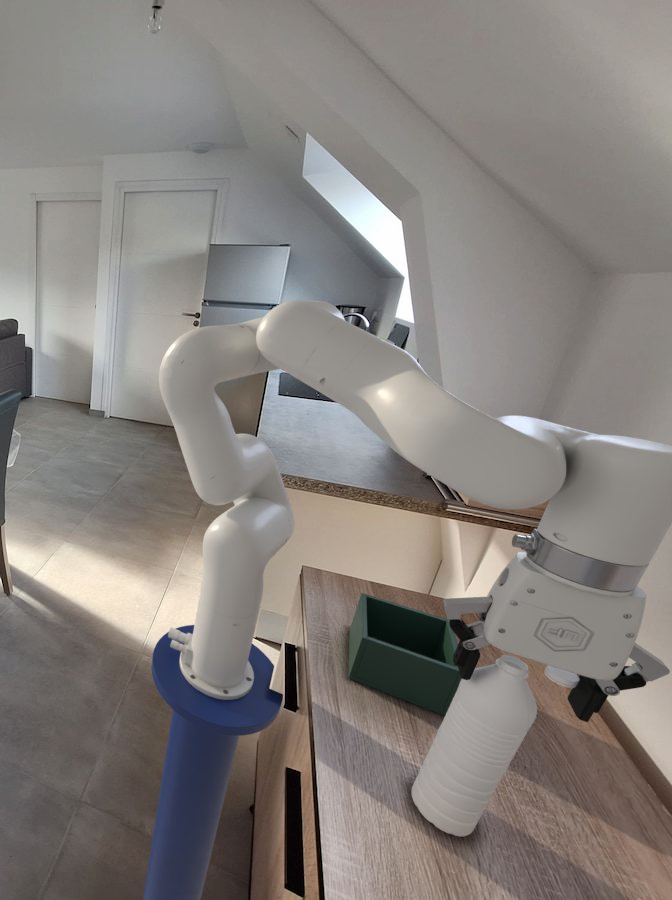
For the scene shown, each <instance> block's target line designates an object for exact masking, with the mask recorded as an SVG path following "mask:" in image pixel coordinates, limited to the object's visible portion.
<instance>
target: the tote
mask: <svg viewBox="0 0 672 900" xmlns="http://www.w3.org/2000/svg"><path fill="white" fill-rule="evenodd" d="M348 637H349V638H348V639H349V641H348V676H347V677H348V679H349V680H351V681H354V682H356V683H359V684H362V685H365V686H368V687H370V688H372V689H375V690H378V691H379V692H383V693H385V694H388V695H390V696H393V697H394V698H398V699H400V700H403V701H405V702H408V703H411V704H414V705H415V706H419V707H420V708H423V709H426V710H429V711H431V712H434V713H436V714H439V715H442V716H444V717H445V716H446V713H447V711H448V708H449V707H450V704H451V702H452V700H453V698H454V696H455V693H456V692H457V689H458V686H459V684H460V681H461V679H462V678H461V676H460V673H459V669H458V666H456V665H454V662H453V656H454V653H455V651H456V648H457V646H458V644H459V642H458V640H457V635H456V634H455V633H454V632H453V630H452V629H451V628H450V625H449V622H448V619H447V618H444V617H441V616H438V615H434V614H432V613H429V612H426V611H422V610H419V609H415V608H412V607H409V606H406V605H403V604H399V603H397V602H393V601H390V600H387V599H384V598H380V597H377V596H375V595H370V594H367V593H364V592H361V593H360V597H359V600H358V602H357V606H356V609H355V611H354V615H353V618H352V620H351V624H350V627H349V635H348Z"/></svg>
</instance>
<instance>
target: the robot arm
mask: <svg viewBox="0 0 672 900" xmlns="http://www.w3.org/2000/svg"><path fill="white" fill-rule="evenodd" d="M277 370H282V371H283V372H285V373H287V374H288V375H290V376H291V377H293V378H295V379H296V380H298V381H300V382H302V383H304V384H305V385H307V386H308V387H311V388H312V389H313V390H315V391H317V392H318V393H320V394H322V395H323V396H325V397H327V398H329V399H330V400H331V401H333V402H335V403H337V404H338V405H340V406H342V407H343V408H345V409H346V410H349V411H350V412H351V413H352V414H354V415H355V416H356V417H357V419H359V420H360V421H361V423H363V424H364V425H365V427H366V428H368V429H369V430H370V431H372V433H374V434H375V435H376V436H377V437H378V438H379V439H380V440H381V441H383V442H384V443H385V444H386V445H387V446H388V447H389V448H391V449H392V450H393V451H394V452H395V453H397V454H398V456H400V457H402V458H403V459H405V460H406V461H408V462H409V463H410V464H412V465H413V466H415V467H416V468H418V469H420V470H421V471H423V472H424V473H426V475H428V476H431V477H432V478H434V479H436V480H437V481H439V482H441V483H442V484H444V485H445V486H447V487H448V488H450V489H451V490H454V491H455V492H457V493H459V494H460V495H462V496H464V497H466V498H467V499H470V500H472V501H474V502H477V503H479V504H482V505H485V506H487V507H491V508H495V509H500V510H512V511H514V510H515V511H516V510H525V509H531V508H534V507H537V506H540V505H542V504H545V503H546V502H548V503H547V505H546V507H545V509H544V512H543V514H542V516H541V519H540V521H539V523H538V525H537V528H533V529H532V531H531V533H530V534H529V535H527V534H524V535H521V534H516V533H515V534H514V535H513V537H512V539H511V547H514V548H518V549H521V550H522V551H518V552H517V553H516V554H515V555H514V556H513V557H512V559H511V560H510V561H509V562H508V563H507V564H506V566H505V567H504V568H503V569H502V571H501V572H500V574H499V575H498V576H497V578H496V580H495V581H494V583H493V584H492V586H491V588H490V589H489V591H488V593H487V595H486V596H473V597H471V596H470V597H451V598H444V599H443V600H442V606H443V610H444V613H445V615H446V619H448V622H449V625H450V628H451V629H452V630H453V632H454V633H455V636H456V638H458V640H459V641H458V646H457V648H456V651H455V653H454V656H453V662H454V665H456V666H458V669H459V673H460V676H461V678H462V679H465V680H470V678H471V676H472V674H473V672H474V669H476V668H477V665H478V662H479V661H480V658H481V652H480V649H482V648H485V647H489V646H492V647H495V648H497V649H499V650H501V651H503V652H506V653H509V654H511V655H515V656H518V657H520V658H523V659H524V658H525V659H528V660H529V661H533V662H536V663H540V664H542V665H543V664H544V665H546V666H547V665H549V666H552V667H555V668H559V669H562V670H565V671H568V672H572V673H575V674H576V675H577V676H578V677H579V679H580V680H579V682H578V684H577V686H576V687H575V688H571V689H570V692H569V693H568V696H567V702H568V703H569V705H570V708H571V709H572V711H573V713H574V715H575V717H576V718H577V719H578V720H579V721H581V722H585V723H588V722H590V720H591V718H592V716H593V715H594V713H595V714H598V713H599V712H600V711H601V709H602V708H603V705H604V704H605V702H606V701H607V699H608V697H609V696H610V697H617V696H618V695H620V692H621V691H627V690H634V689H640V688H644V687H646V686H647V683H648V682H653V681H656V680H658V679H661V678H663V677H665V676H668V675H669V674H670V673H671V670H670V669H669V668H668V666H667V665H666V664H665V662H664V661H663V660H662V659H660V658H658V657H657V656H656V655H654V654H653V653H651V652H650V651H649V650H647V649H645V648H644V647H642V646H641V645H639V644H638V643H637V642H636V641H637V638H638V636H639V632H640V630H641V629H640V628H641V626H642V622H643V618H644V613H645V609H646V603H647V596H648V595H647V593H646V592H645V591H644V589H642V588H641V587H640V586H639V585H638V584H639V583H640V581H641V579H642V578H643V576H644V574H645V572H646V570H647V568H648V567H649V565H650V563H651V561H652V560H653V558H654V556H655V555H656V553H657V551H658V549H659V547H660V545H661V543H662V541H663V540H664V538H665V536H666V535H667V533H668V531H669V530H670V527H671V526H672V445H671V444H666V443H661V442H658V441H653V440H648V439H643V438H638V437H631V436H626V435H625V436H624V435H617V434H616V435H615V434H598V433H595V432H589V431H585V430H581V429H578V428H574V427H570V426H567V425H562V424H558V423H555V422H552V421H547V420H544V419H541V418H537V417H532V416H524V415H517V414H516V415H514V414H513V415H503V416H498V417H493V416H491V415H489V414H487V413H485V412H484V411H482V410H480V409H478V408H476V407H474V406H472V405H471V404H469V403H467V402H466V401H463V400H462V399H460V398H458V397H457V396H456V395H454V394H453V393H452V392H450V391H447V390H446V389H445V388H444V387H442V386H441V385H440V384H439V383H438V382H436V381H435V380H433V378H432V377H430V375H428V373H426V371H425V369H423V368H422V366H421V364H420V363H419V362H418V360H417V359H416V358H415V357H414V356H413V355H411V354H410V353H409V352H408V351H406V350H405V349H403V348H401V347H400V346H398V345H395V344H393V343H392V342H389V341H387V340H386V339H383V338H381V337H379V336H377V335H375V334H373V333H371V332H368V331H366V330H365V329H362V328H361V327H359V326H356V325H355V324H353V323H351V322H349V321H346V319H345V317H344V315H343V313H342V311H341V310H340V309H339V308H337V306H335V305H333V304H332V303H329V302H327V301H323V300H318V299H297V300H289V301H286V302H283V303H280V304H278V305H276V306H275V307H273V308H272V309H270V310H269V311H268V312H267V313H266V314H265V315H264V316H261V317H258V318H253V319H250V320H246V321H243V322H239V323H232V324H219V325H218V324H217V325H206V326H202V327H201V326H200V327H196V328H194V329H193V328H192V329H191V330H189V331H187V332H185V333H183V334H181V335H180V336H179V337H177V338H176V339H175V340H174V341H173V342H172V343H171V344H170V345H169V347H168V348H167V350H166V351H165V353H164V354H163V357H162V360H161V363H160V367H159V371H158V372H159V373H158V386H159V391H160V395H161V399H162V401H163V403H164V407H165V408H166V410H167V413H168V415H169V417H170V420H171V422H172V425H173V427H174V431H175V433H176V437H177V440H178V445H179V447H180V449H181V453H182V457H183V459H184V463H185V465H186V468H187V471H188V475H189V477H190V480H191V483H192V485H193V488H194V490H195V492H196V494H197V496H198V497H199V498H200V499H201V500H202V501H203V502H205V503H206V504H209V505H212V506H224V505H228V504H230V503H233V506H231V507H230V508H229V509H227V510H226V511H224V512H223V513H221V514H220V515H219V516H217V517H216V518H215V519H214V520H213V521H212V522H210V524H209V526H208V527H207V529H206V530H205V532H204V535H203V539H202V574H201V581H200V588H199V595H198V601H197V607H196V613H195V619H194V624H193V625H194V631H193V634H191V633H187V634H185V633H183V632H180V631H179V630H177V629H176V628H174V627H170V628H169V631H168V632H169V633H168V632H167V633H168V638H171V639H173V640H172V641H171V644H170V647H171V648H173V649H176V650H179V651H181V655H180V662H179V663H180V668H181V671H182V674H183V675H184V677H185V678H186V680H187V681H188V682H189V683H190V684H191V685H192V686H193V687H194V688H195V689H197V690H198V691H200V692H202V693H203V694H206V695H208V696H210V697H213V698H216V699H222V700H234V699H239V698H241V697H243V696H245V695H246V694H248V693H249V691H250V690H251V688H252V685H253V681H254V672H253V669H252V666H251V665H250V663H249V661H248V658H249V654H250V649H251V645H252V644H253V640H254V635H255V631H256V627H257V622H258V619H259V614H260V611H261V610H260V609H261V603H262V599H263V594H264V572H265V569H266V566H267V565H268V563H269V561H270V560H271V559H272V558H273V557H274V556H275V555H276V554H277V553H278V552H279V551H280V550H281V549H282V548H283V547H284V546H285V545H286V544H287V543H288V541H289V540H290V539H291V538H292V536H293V534H294V531H295V516H294V510H293V508H292V504H291V502H290V498H289V496H288V492H287V490H286V487H285V483H284V480H283V478H282V474H281V471H280V469H279V466H278V465H279V464H278V463H277V460H276V458H275V456H274V454H273V452H272V450H271V449H270V447H269V446H268V444H266V442H264V441H263V440H262V439H261V438H259V437H257V436H255V435H253V434H250V433H236V430H235V428H234V425H233V423H232V419H231V415H230V413H229V411H228V408H227V407H226V405H225V403H224V402H223V400H222V399H221V398H220V397H219V396H218V394H217V391H216V390H215V389H216V388H215V387H216V386H217V385H218V384H219V383H223V382H228V381H232V380H236V379H240V378H244V377H248V376H252V375H257V374H261V373H262V374H263V373H266V372H272V371H277ZM463 614H478V619H479V620H477V621H474V622H470V623H467V624H466V623H465V621H464V619H462V617H461V616H462V615H463ZM174 640H176V641H174ZM177 641H179V642H182V643H184V645H183V644H180V643H179V642H177ZM629 659H631V660H632V661H634V663H631V665H626V664H627V662H628V660H629Z"/></svg>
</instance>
